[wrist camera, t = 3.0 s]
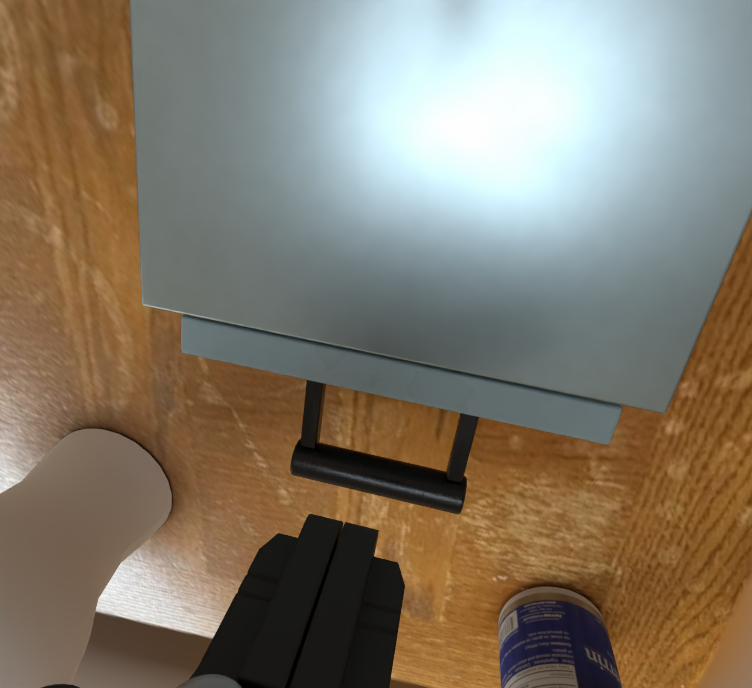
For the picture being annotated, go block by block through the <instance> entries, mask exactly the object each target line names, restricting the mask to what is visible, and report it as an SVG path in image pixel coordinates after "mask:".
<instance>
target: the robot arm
mask: <svg viewBox="0 0 752 688" xmlns="http://www.w3.org/2000/svg"><path fill="white" fill-rule="evenodd" d="M378 532H379V530H376V529H372V528H367V527H363V526H359V525H355V524H351V523H347V522H345V524H344V526H343V522H342V521H338V520H334V519H330V518H326V517H322V516H317V515H313V514H309V515H308V517H307V519H306V521H305V523H304V526H303V528H302V530H301V532H300V535H299V537H298V538H296V537H292V536H288V535H284V534H280V533H278V534H277V535H276V536H274V537H273V538H272V539H271V540H270V541H269V542H267V543H266V544H265V545H264V546H263V547H261V548H260V549H259V551H258V553H257V555H256V557H255V558H254V560H253V562H252V564H251V566H250V568H249V570H248V573H247V575H246V576H245V578H244V580H243V582H242V584H241V585H240V587H239V590H238V593H237V594H236V595H235V597H234V599H233V601H232V603H231V605H230V607H229V609H228V611H227V613H226V614H225V616H224V618H223V620H222V622H221V624H220V626H219V628H218V630H217V632H216V634H215V636H214V638H213V640H212V641H211V644H210V646H209V647H208V649H207V651H206V653H205V655H204V657H203V659H202V661H201V663H200V665H199V666H198V668H197V669H196V671H195V672H194V674H193V675H192V676H191V678H190V679H189V680H187V681H186V682H184V683H182V684H180V685H179V686H178V687H177V688H389V685H390V679H391V672H392V666H393V660H394V653H395V647H396V640H397V633H398V627H399V621H400V614H401V608H402V601H403V595H404V589H405V585H404V581H403V578H402V575H401V571H400V568H399V564H398V563H397V562H393V561H389V560H385V559H381V558H377V557H374V554H375V548H376V543H377V538H378ZM41 688H79V687H77V686H74V685H69V684H54V685H48V686H45V687H41Z"/></svg>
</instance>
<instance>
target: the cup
mask: <svg viewBox="0 0 752 688" xmlns="http://www.w3.org/2000/svg"><path fill="white" fill-rule="evenodd" d="M171 506H172V494H171V490H170V486H169V483H168V480H167V478H166V476H165V474H164V473H163V471H162V469H161V467H160V466H159V465H158V463H157V462H156V461H155V460H154V459H153V458H152V456H151V455H150V454H149V453H148V452H147V451H145V450H144V449H143V448H142V447H140V446H139V445H138V444H136V443H135V442H134V441H132V440H130V439H128V438H126V437H124V436H122V435H120V434H118V433H114V432H111V431H107V430H103V429H83V430H79V431H75V432H72V433H71V434H69V435H68V436H66V437H65V438H63V439H62V440H61V441H60V442H59V443H58V444H57V445H55V446H54V447H53V448H52V449H51V450H50V451H49V452H48V453H47V454H46V455H45V456H44V457H43V459H42V460H41V461H40V462H39V463H38V464H37V465H36V466H35V467H34V468H33V469H32V471H31V472H30V473H29V474H28V475H27V476H26V477H25V478H24V479H23V480H22V481H21V482H20V483H18V484H16V485H15V486H13V487H11V488H9V489H8V490H6V491H4V492H3V493H1V494H0V688H41V687H45V686H48V685H54V684H69V685H71V682H72V680H73V678H74V675H75V673H76V671H77V668H78V666H79V664H80V661H81V659H82V656H83V654H84V652H85V649H86V646H87V643H88V640H89V637H90V634H91V629H92V624H93V620H94V615H95V611H96V606H97V602H98V598H99V597H100V595H101V594H102V592H103V590H104V589H105V587H106V585H107V584H108V582H109V581H110V579H111V577H112V576H113V574H114V573H115V571H116V569H117V568H118V566H119V565H120V563H121V562H122V561H124V560H125V559H126V558H127V557H128V556H129V555H131V554H132V553H133V552H134V551H135V550H136V549H137V548H139V547H140V546H141V545H142V544H143V543H144V542H146V541H147V540H148V539H149V538H150V537H151V536H152V535H153V534H154V533H155V532H156V531H157V530H158V529H159V528H160V527H161V526H162V525H163V523H164V522H165V521H166V520H167V518H168V516H169V513H170V511H171Z"/></svg>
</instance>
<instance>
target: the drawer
mask: <svg viewBox="0 0 752 688" xmlns="http://www.w3.org/2000/svg"><path fill="white" fill-rule="evenodd" d="M181 351H182V352H183V353H186V354H191V355H195V356H200V357H204V358H209V359H214V360H218V361H223V362H228V363H232V364H237V365H241V366H246V367H251V368H255V369H260V370H264V371H269V372H274V373H278V374H283V375H288V376H292V377H297V378H301V379H306V380H307V384H306V394H305V404H304V414H303V424H302V434H301V439H300V440H299V441H298V442H297V444H296V446H295V449H294V452H293V455H292V459H291V466H290V470H291V474H292V475H295V476H299V477H303V478H307V479H312V480H316V481H320V482H324V483H328V484H333V485H337V486H341V487H345V488H349V489H354V490H358V491H362V492H366V493H370V494H375V495H379V496H383V497H387V498H391V499H396V500H400V501H404V502H408V503H412V504H417V505H421V506H425V507H429V508H433V509H438V510H442V511H446V512H450V513H454V514H460V513H461V511H462V508H463V504H464V500H465V494H466V487H467V479H466V477H465V476H464V473H465V469H466V465H467V461H468V457H469V453H470V450H471V446H472V442H473V438H474V434H475V430H476V427H477V423H478V419H479V417H482V418H486V419H491V420H495V421H500V422H505V423H509V424H514V425H519V426H523V427H528V428H532V429H537V430H542V431H546V432H551V433H556V434H560V435H565V436H569V437H574V438H579V439H583V440H588V441H592V442H597V443H602V444H606V445H607V444H609V443H610V441H611V438H612V436H613V433H614V430H615V428H616V425H617V423H618V420H619V418H620V415H621V412H622V407H621V405H620V404H615V403H610V402H605V401H601V400H596V399H591V398H586V397H581V396H577V395H572V394H567V393H562V392H557V391H552V390H548V389H543V388H538V387H533V386H528V385H524V384H519V383H514V382H509V381H504V380H500V379H495V378H490V377H485V376H480V375H475V374H471V373H466V372H461V371H456V370H451V369H447V368H442V367H437V366H432V365H427V364H422V363H418V362H413V361H408V360H403V359H398V358H394V357H389V356H384V355H379V354H374V353H370V352H365V351H360V350H355V349H350V348H345V347H341V346H336V345H331V344H326V343H321V342H317V341H312V340H307V339H302V338H297V337H292V336H288V335H283V334H278V333H273V332H268V331H264V330H259V329H254V328H249V327H244V326H240V325H235V324H230V323H225V322H220V321H215V320H211V319H206V318H201V317H196V316H191V315H187V314H185V315H183V316H182V318H181ZM326 384H329V385H334V386H338V387H343V388H348V389H352V390H357V391H361V392H366V393H371V394H375V395H380V396H385V397H389V398H394V399H398V400H403V401H408V402H412V403H417V404H422V405H426V406H431V407H435V408H440V409H445V410H449V411H454V412H458V413H460V417H459V421H458V425H457V429H456V433H455V437H454V441H453V445H452V449H451V454H450V458H449V462H448V466H447V470H446V472H445V471H441V470H436V469H432V468H428V467H423V466H419V465H415V464H410V463H406V462H402V461H397V460H393V459H388V458H384V457H380V456H375V455H371V454H367V453H362V452H358V451H354V450H349V449H345V448H341V447H336V446H332V445H328V444H323V443H319V440H320V431H321V423H322V414H323V406H324V397H325V389H326Z"/></svg>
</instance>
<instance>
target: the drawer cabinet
mask: <svg viewBox="0 0 752 688" xmlns="http://www.w3.org/2000/svg"><path fill="white" fill-rule="evenodd" d="M130 25H131V49H132V73H133V97H134V121H135V146H136V170H137V194H138V218H139V242H140V267H141V291H142V304H143V305H144V306H148V307H153V308H158V309H162V310H167V311H172V312H177V313H182V314H187V315H191V316H196V317H201V318H206V319H211V320H215V321H220V322H225V323H230V324H235V325H240V326H244V327H249V328H254V329H259V330H264V331H268V332H273V333H278V334H283V335H288V336H292V337H297V338H302V339H307V340H312V341H317V342H321V343H326V344H331V345H336V346H341V347H345V348H350V349H355V350H360V351H365V352H370V353H374V354H379V355H384V356H389V357H394V358H398V359H403V360H408V361H413V362H418V363H422V364H427V365H432V366H437V367H442V368H447V369H451V370H456V371H461V372H466V373H471V374H475V375H480V376H485V377H490V378H495V379H500V380H504V381H509V382H514V383H519V384H524V385H528V386H533V387H538V388H543V389H548V390H552V391H557V392H562V393H567V394H572V395H577V396H581V397H586V398H591V399H596V400H601V401H605V402H610V403H615V404H620V405H625V406H630V407H634V408H639V409H644V410H649V411H654V412H658V413H666V412H667V410H668V407H669V405H670V403H671V400H672V398H673V396H674V393H675V391H676V389H677V386H678V384H679V382H680V379H681V377H682V375H683V372H684V370H685V368H686V365H687V363H688V361H689V358H690V356H691V354H692V351H693V349H694V347H695V344H696V342H697V340H698V337H699V335H700V333H701V330H702V328H703V326H704V323H705V321H706V319H707V316H708V314H709V312H710V309H711V307H712V305H713V302H714V300H715V298H716V295H717V293H718V291H719V288H720V286H721V284H722V281H723V279H724V277H725V274H726V272H727V270H728V267H729V265H730V263H731V260H732V258H733V256H734V253H735V251H736V249H737V246H738V244H739V242H740V239H741V237H742V235H743V232H744V230H745V228H746V225H747V223H748V221H749V218H750V216H751V214H752V0H130Z"/></svg>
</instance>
